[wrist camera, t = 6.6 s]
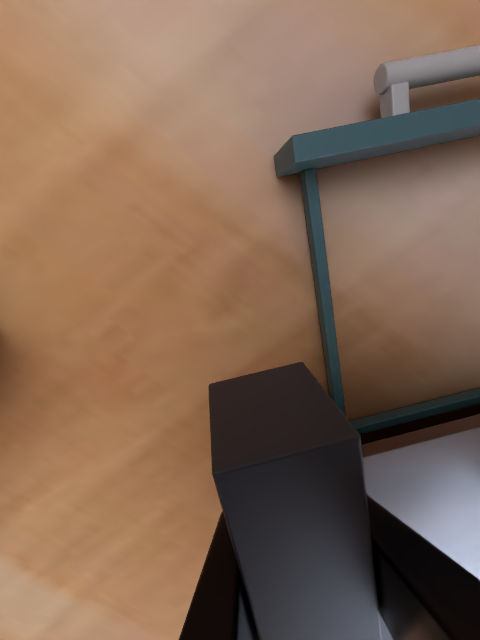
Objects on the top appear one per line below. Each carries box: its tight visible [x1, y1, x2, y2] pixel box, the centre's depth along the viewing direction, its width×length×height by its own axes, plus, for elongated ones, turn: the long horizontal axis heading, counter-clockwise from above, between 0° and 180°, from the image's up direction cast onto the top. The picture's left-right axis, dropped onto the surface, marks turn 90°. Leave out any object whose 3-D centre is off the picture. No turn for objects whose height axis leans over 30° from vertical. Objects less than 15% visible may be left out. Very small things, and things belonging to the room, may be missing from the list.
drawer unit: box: [361, 414, 480, 580], centre depth 20 cm, size 17×17×5 cm
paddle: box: [209, 362, 393, 640], centre depth 8 cm, size 6×12×3 cm, turn 12°
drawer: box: [274, 45, 480, 434], centre depth 16 cm, size 19×17×3 cm
